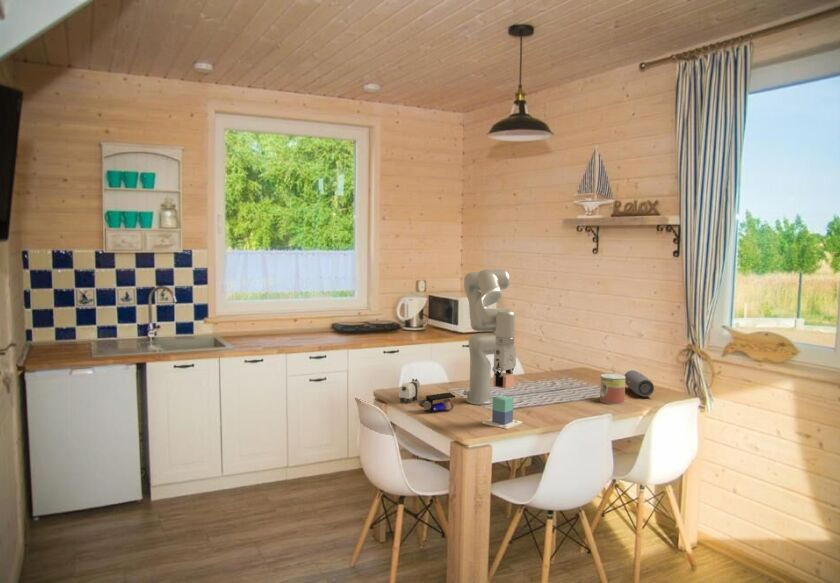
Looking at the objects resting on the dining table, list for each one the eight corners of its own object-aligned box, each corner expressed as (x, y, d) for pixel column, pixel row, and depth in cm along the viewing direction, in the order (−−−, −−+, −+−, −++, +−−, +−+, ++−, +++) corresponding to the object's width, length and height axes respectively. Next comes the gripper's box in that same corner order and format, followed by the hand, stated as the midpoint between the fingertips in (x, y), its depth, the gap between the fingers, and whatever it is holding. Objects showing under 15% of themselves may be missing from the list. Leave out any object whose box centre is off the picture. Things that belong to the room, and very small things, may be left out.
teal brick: (492, 409, 267) (492, 397, 267) (500, 407, 271) (501, 395, 271) (504, 412, 263) (505, 400, 263) (512, 409, 268) (513, 397, 267)
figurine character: (425, 418, 279) (457, 411, 285) (423, 400, 278) (455, 393, 284) (419, 414, 285) (450, 407, 291) (417, 397, 284) (448, 390, 290)
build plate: (481, 423, 267) (482, 410, 266) (498, 417, 276) (498, 404, 276) (507, 429, 259) (507, 415, 259) (522, 422, 268) (523, 409, 268)
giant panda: (408, 404, 296) (408, 383, 295) (397, 402, 298) (398, 382, 297) (423, 397, 308) (423, 377, 308) (413, 396, 311) (413, 376, 310)
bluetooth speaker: (622, 388, 336) (622, 368, 335) (640, 388, 336) (641, 369, 335) (635, 399, 313) (635, 378, 312) (654, 399, 313) (655, 378, 312)
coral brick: (493, 386, 266) (493, 374, 266) (501, 384, 270) (502, 372, 270) (505, 388, 262) (506, 376, 262) (514, 386, 266) (514, 374, 266)
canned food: (594, 399, 311) (595, 374, 310) (615, 397, 315) (616, 373, 314) (608, 405, 301) (609, 379, 300) (629, 403, 304) (630, 378, 303)
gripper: (501, 344, 256) (499, 390, 257) (523, 340, 269) (522, 383, 270) (485, 342, 261) (484, 387, 262) (508, 338, 274) (507, 380, 275)
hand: (503, 384), depth 266 cm, fingers closed on coral brick, 6 cm apart
